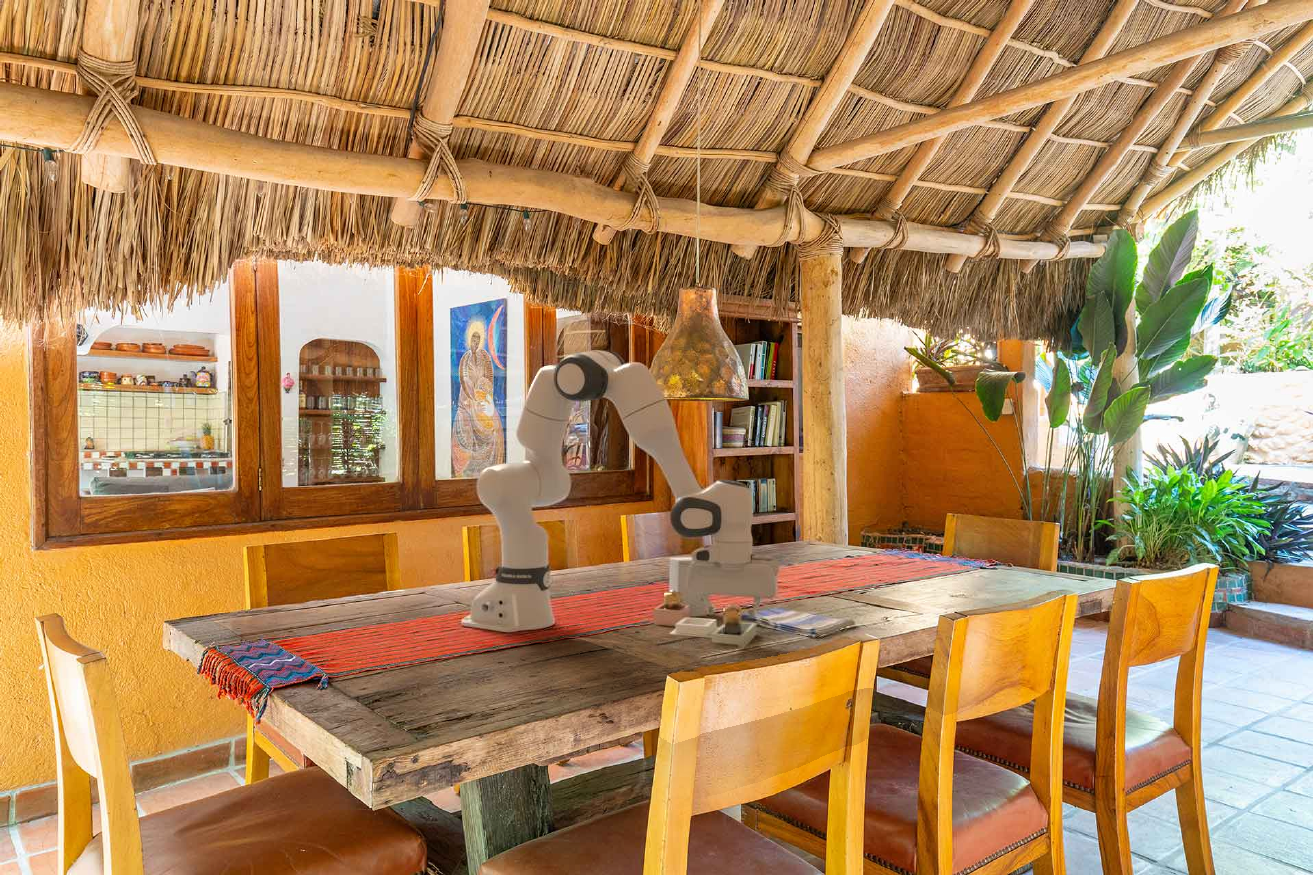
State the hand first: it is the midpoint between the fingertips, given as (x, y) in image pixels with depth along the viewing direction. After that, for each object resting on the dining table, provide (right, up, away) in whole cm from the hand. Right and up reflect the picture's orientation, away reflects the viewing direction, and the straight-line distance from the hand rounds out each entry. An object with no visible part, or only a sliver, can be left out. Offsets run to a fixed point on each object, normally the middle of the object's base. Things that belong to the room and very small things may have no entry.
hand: (731, 615), depth 192 cm
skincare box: (-9, -6, +25) cm, 27 cm away
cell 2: (0, -5, 0) cm, 5 cm away
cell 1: (-13, -5, +16) cm, 21 cm away
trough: (+1, -6, +2) cm, 6 cm away
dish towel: (+17, -6, +17) cm, 25 cm away
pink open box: (-13, -6, +16) cm, 21 cm away
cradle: (-8, -6, +7) cm, 12 cm away
